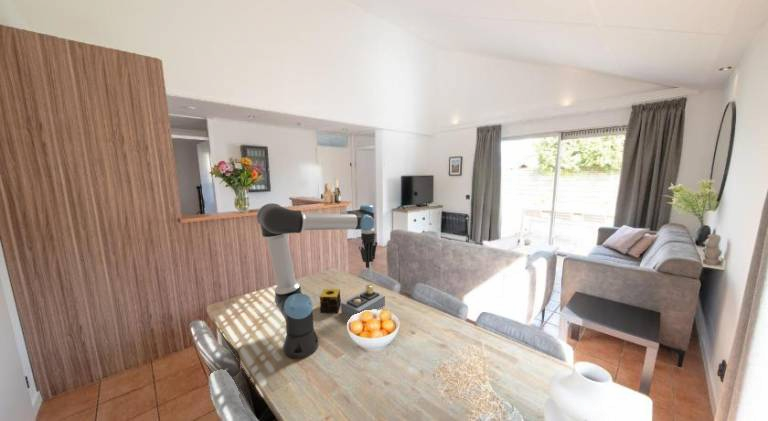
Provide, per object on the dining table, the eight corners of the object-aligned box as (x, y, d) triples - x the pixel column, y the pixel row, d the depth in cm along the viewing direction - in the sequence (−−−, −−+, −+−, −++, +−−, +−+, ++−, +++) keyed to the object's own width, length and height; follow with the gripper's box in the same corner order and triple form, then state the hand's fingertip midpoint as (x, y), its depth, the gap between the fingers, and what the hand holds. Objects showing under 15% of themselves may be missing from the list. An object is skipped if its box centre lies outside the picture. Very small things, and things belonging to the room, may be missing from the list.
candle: (338, 313, 152) (337, 296, 150) (319, 313, 152) (319, 297, 150) (341, 304, 162) (340, 288, 160) (324, 304, 162) (323, 288, 160)
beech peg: (357, 315, 149) (357, 303, 148) (352, 312, 152) (351, 300, 151) (362, 312, 152) (362, 300, 151) (357, 309, 155) (357, 298, 154)
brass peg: (369, 300, 156) (369, 288, 155) (364, 297, 159) (364, 286, 158) (374, 297, 159) (374, 285, 158) (369, 295, 162) (369, 283, 161)
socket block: (359, 321, 144) (359, 309, 142) (341, 312, 153) (341, 300, 151) (385, 305, 160) (384, 294, 158) (367, 298, 168) (367, 287, 167)
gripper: (364, 236, 145) (366, 277, 149) (380, 231, 155) (381, 270, 159) (354, 233, 150) (356, 274, 154) (370, 229, 159) (372, 267, 164)
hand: (369, 272), depth 156 cm, fingers closed
